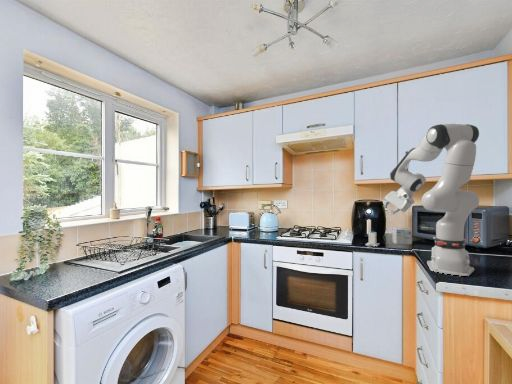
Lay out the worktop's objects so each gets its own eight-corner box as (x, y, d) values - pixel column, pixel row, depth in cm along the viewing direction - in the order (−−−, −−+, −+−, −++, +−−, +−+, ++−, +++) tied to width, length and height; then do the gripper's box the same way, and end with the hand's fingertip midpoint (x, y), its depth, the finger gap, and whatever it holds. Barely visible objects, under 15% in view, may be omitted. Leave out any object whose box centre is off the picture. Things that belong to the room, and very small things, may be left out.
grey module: (374, 244, 170) (374, 233, 170) (368, 244, 173) (368, 232, 173) (376, 243, 174) (376, 232, 173) (370, 242, 176) (370, 231, 176)
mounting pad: (376, 246, 168) (376, 245, 168) (365, 245, 172) (365, 244, 172) (379, 244, 174) (379, 243, 174) (369, 242, 179) (368, 242, 179)
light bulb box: (407, 242, 179) (407, 227, 179) (412, 244, 173) (412, 229, 172) (392, 242, 180) (392, 227, 180) (396, 244, 174) (396, 229, 173)
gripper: (391, 187, 172) (377, 201, 175) (410, 197, 153) (394, 214, 156) (397, 191, 174) (382, 206, 177) (416, 203, 155) (400, 219, 158)
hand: (388, 210), depth 167 cm, fingers open, 8 cm apart
